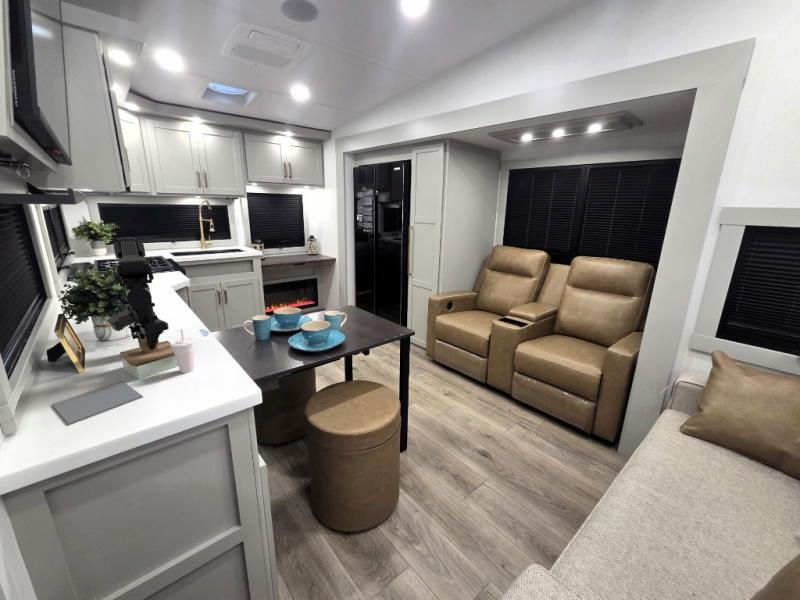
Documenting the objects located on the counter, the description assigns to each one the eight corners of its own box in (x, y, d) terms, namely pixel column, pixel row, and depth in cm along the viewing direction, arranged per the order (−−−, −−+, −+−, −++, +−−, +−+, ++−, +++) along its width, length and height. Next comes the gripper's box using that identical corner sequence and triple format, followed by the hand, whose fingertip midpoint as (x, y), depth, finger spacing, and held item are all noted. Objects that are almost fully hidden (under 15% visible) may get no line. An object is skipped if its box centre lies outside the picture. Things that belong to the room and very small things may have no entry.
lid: (120, 354, 108) (117, 340, 106) (167, 342, 117) (164, 329, 116) (131, 366, 99) (127, 351, 98) (180, 352, 109) (178, 338, 108)
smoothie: (188, 376, 104) (180, 333, 100) (170, 374, 105) (162, 331, 101) (203, 366, 110) (196, 326, 106) (186, 365, 111) (179, 324, 107)
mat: (52, 405, 88) (51, 404, 88) (122, 382, 100) (121, 380, 100) (68, 425, 80) (68, 423, 80) (143, 397, 92) (142, 395, 92)
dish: (124, 370, 108) (121, 357, 107) (166, 357, 118) (163, 345, 117) (139, 380, 102) (136, 366, 100) (182, 365, 111) (180, 353, 110)
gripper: (96, 302, 102) (107, 349, 106) (119, 312, 92) (131, 364, 96) (139, 294, 111) (148, 339, 115) (164, 303, 101) (173, 351, 105)
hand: (149, 348), depth 108 cm, fingers closed on lid, 4 cm apart
